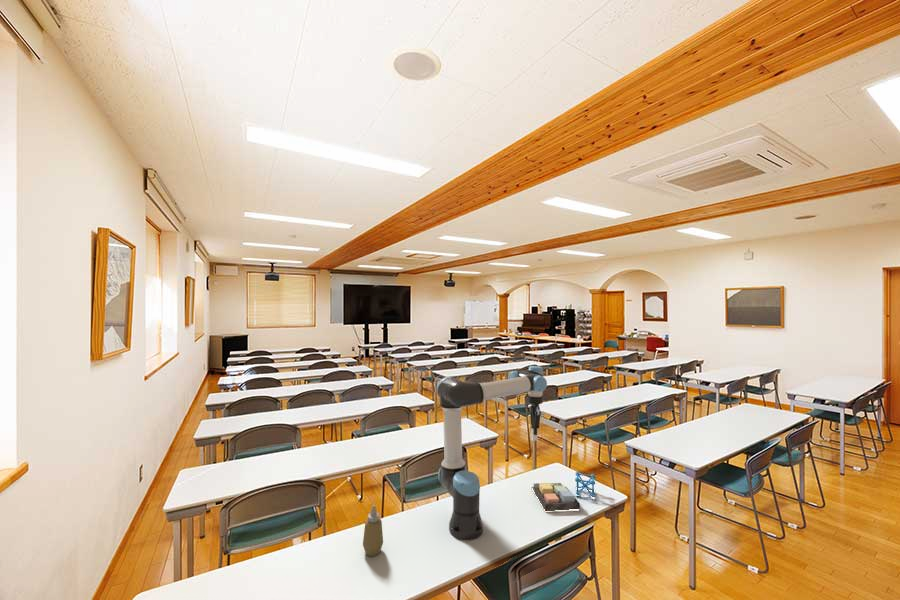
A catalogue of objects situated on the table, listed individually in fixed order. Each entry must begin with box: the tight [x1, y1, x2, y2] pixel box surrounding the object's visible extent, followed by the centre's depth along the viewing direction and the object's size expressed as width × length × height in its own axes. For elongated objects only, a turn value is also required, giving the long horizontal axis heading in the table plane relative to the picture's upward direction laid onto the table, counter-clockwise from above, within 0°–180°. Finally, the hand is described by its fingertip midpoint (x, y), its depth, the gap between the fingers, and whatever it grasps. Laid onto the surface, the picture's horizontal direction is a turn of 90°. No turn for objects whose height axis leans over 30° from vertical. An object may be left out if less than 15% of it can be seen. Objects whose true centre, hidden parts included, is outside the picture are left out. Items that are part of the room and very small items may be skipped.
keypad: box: [531, 482, 581, 512], centre depth 188 cm, size 17×23×4 cm
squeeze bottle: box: [362, 504, 384, 557], centre depth 146 cm, size 8×8×18 cm
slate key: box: [560, 489, 576, 502], centre depth 181 cm, size 6×6×3 cm
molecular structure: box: [574, 471, 596, 498], centre depth 194 cm, size 10×10×10 cm
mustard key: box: [539, 482, 553, 495], centre depth 189 cm, size 6×6×3 cm
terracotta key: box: [544, 493, 559, 503], centre depth 181 cm, size 6×6×3 cm
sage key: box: [554, 485, 569, 494], centre depth 189 cm, size 6×6×3 cm
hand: (534, 440), depth 193 cm, fingers closed
